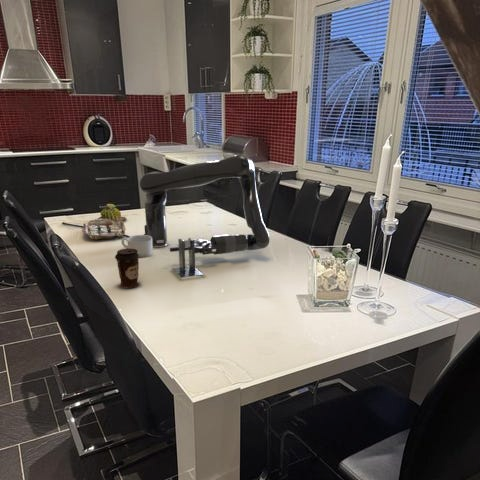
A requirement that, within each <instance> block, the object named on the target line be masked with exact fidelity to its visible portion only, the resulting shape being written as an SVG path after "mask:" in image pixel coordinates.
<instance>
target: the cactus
mask: <svg viewBox="0 0 480 480" xmlns="http://www.w3.org/2000/svg"><path fill="white" fill-rule="evenodd" d="M97 219H111V220H112V221H114V222H116V223H117V222H119V221H123V222H125V221H126V220H127V217H126V216H122V213H121V211H120V210H119V208H116V205H115V204H113V203H107V204H106V207H104V208H103V209H102V210H101V211H100V216H99V217H98V218H97Z"/></svg>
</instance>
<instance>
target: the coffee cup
mask: <svg viewBox="0 0 480 480" xmlns="http://www.w3.org/2000/svg"><path fill="white" fill-rule="evenodd" d="M137 252H138V251H137V250H136V249H129V248H121V249H118V250H117V251H116V254H115V255H114V258H115V260H116V263H117V270H118V275H119V279H120V287H121V288H125V289H131V288H132V289H133V288H136V287H138V286H139V282H138V280H139V274H140V273H139V271H140V270H139V268H140V267H139V266H140V264H139V263H140V262H139V258H138V257H139V254H138V253H137Z"/></svg>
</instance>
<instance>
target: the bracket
mask: <svg viewBox="0 0 480 480" xmlns="http://www.w3.org/2000/svg"><path fill="white" fill-rule="evenodd" d="M187 240H190V245H191V246H190V247H189V250H188V266H186V253H185V252H186V250H185V247H184V241H185V240H183V239H182V238H178V247H179V251H178V261H179V262H178V265H179V266H178V267H172V270H173V271H174V273H176V274H177V275H178V277H180V279H181V278H188V277H196V276H204V274H203V272H202V271H200V270H199V269H198V268H197V267H196V253H195V244H196V243H194V240H195V239H194V238H192V237H188V238H187Z"/></svg>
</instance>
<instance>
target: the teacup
mask: <svg viewBox="0 0 480 480" xmlns="http://www.w3.org/2000/svg"><path fill="white" fill-rule="evenodd" d="M120 241H121V245H122V246H123V247H124V249H127V248H129V249H136V250H137V251H138V252H137V253H138V254H139V257H138V259H140V258H141V259H143V258H146V257H149V256H150V254H152V252H153V250H154V249H153V248H154V247H153V245H152V237H151V236H148V235H144V234H136V235H135V234H134V235H131V237H129V238H128V237H125V236H124V237H122V239H121V240H120ZM125 241H126V242H127V244H126V243H125Z"/></svg>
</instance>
